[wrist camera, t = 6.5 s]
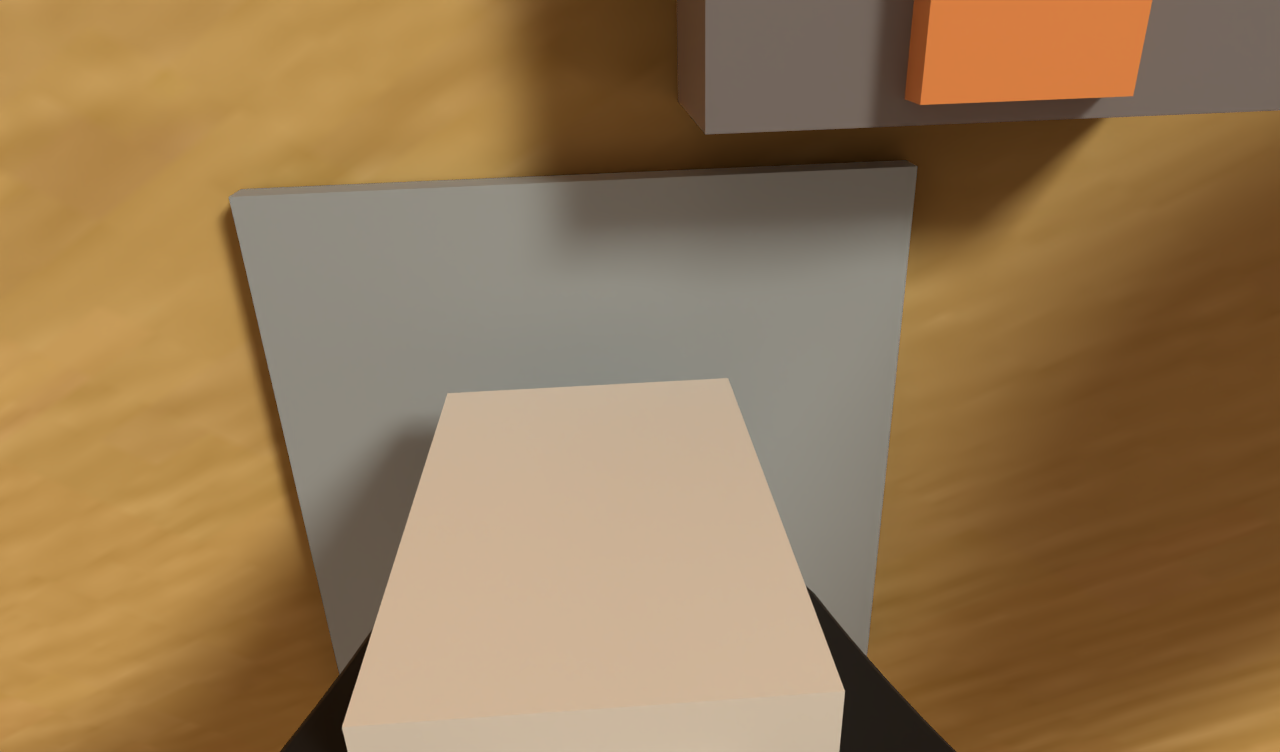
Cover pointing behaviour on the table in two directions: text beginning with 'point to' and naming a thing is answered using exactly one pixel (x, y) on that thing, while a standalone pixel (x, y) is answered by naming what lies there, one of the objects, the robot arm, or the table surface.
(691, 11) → the power strip
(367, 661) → the block
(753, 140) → the table surface
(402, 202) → the mat
